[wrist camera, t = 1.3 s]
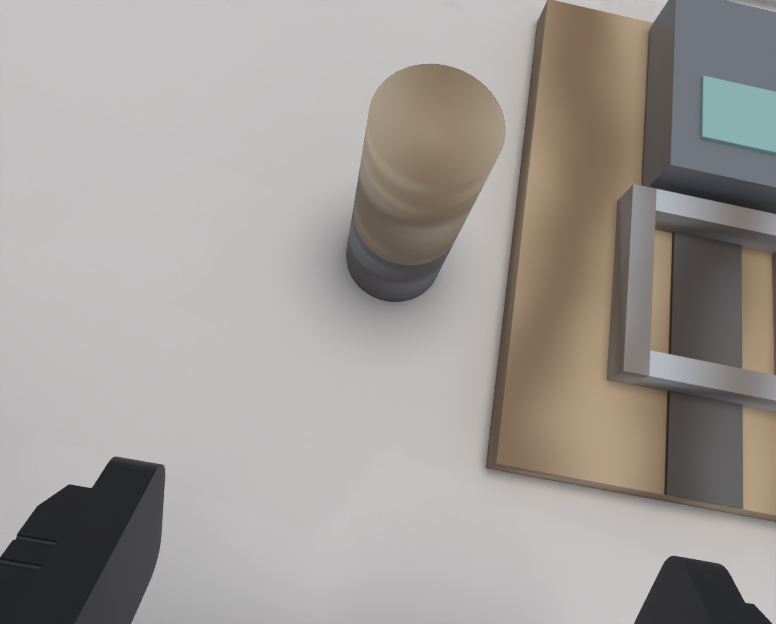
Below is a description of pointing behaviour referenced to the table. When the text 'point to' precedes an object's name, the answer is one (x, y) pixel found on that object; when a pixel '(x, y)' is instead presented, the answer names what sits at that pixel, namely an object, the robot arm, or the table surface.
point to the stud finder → (712, 103)
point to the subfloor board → (629, 297)
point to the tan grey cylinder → (419, 176)
